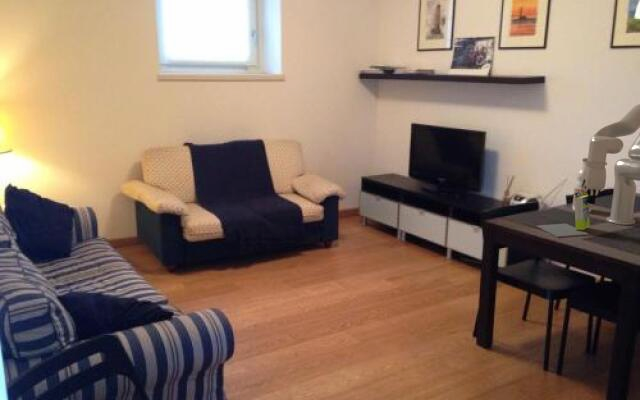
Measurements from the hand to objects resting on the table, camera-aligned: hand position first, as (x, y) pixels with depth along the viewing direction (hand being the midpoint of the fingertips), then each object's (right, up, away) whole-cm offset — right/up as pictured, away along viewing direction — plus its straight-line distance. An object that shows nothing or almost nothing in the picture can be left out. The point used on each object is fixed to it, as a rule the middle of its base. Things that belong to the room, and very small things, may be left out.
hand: (590, 203), depth 257 cm
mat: (-13, -13, +1) cm, 19 cm away
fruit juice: (+13, -4, +36) cm, 39 cm away
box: (-3, -12, +3) cm, 13 cm away
